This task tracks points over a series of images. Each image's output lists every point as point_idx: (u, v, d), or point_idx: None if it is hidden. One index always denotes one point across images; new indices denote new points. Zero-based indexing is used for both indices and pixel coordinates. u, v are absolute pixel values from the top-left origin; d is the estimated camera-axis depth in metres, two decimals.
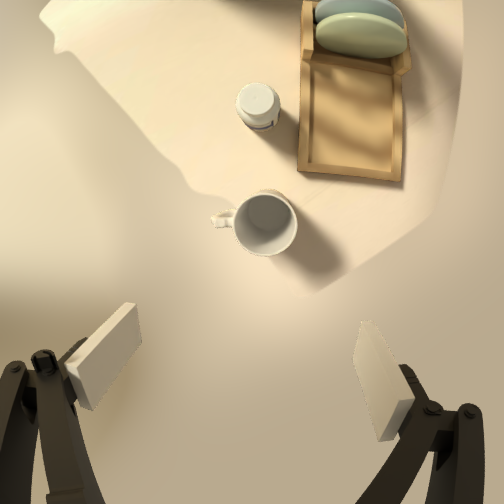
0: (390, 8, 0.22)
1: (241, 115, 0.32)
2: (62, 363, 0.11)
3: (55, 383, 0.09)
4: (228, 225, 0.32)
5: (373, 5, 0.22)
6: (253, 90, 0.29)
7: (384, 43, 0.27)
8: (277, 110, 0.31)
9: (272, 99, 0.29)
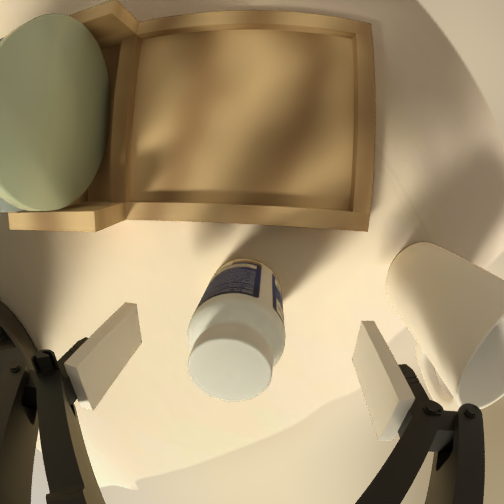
0: None
1: None
2: (62, 363, 0.11)
3: (55, 383, 0.09)
4: None
5: None
6: (208, 377, 0.13)
7: (58, 59, 0.10)
8: (252, 306, 0.14)
9: (230, 342, 0.12)
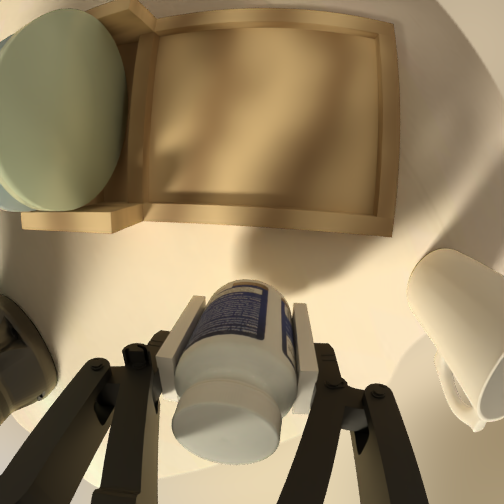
0: None
1: None
2: None
3: (143, 379, 0.10)
4: None
5: None
6: (198, 441, 0.09)
7: (72, 55, 0.10)
8: (255, 353, 0.11)
9: (225, 408, 0.08)
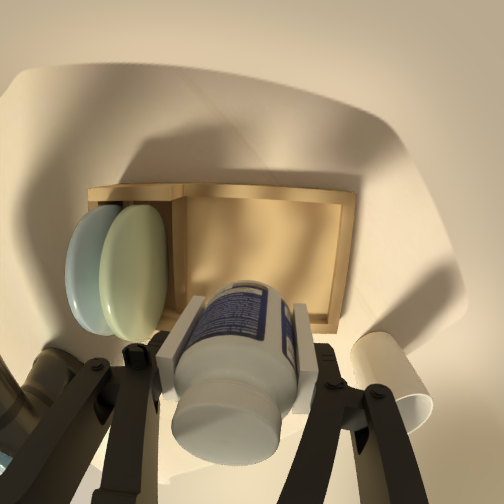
0: (77, 262, 0.19)
1: None
2: None
3: (143, 379, 0.10)
4: None
5: (83, 287, 0.20)
6: (198, 442, 0.09)
7: (140, 245, 0.23)
8: (255, 354, 0.10)
9: (225, 409, 0.08)
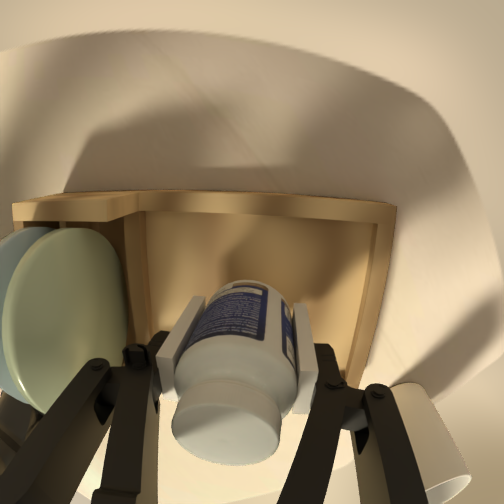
0: None
1: None
2: None
3: (143, 379, 0.10)
4: None
5: None
6: (198, 442, 0.09)
7: (67, 292, 0.13)
8: (255, 354, 0.10)
9: (225, 409, 0.08)
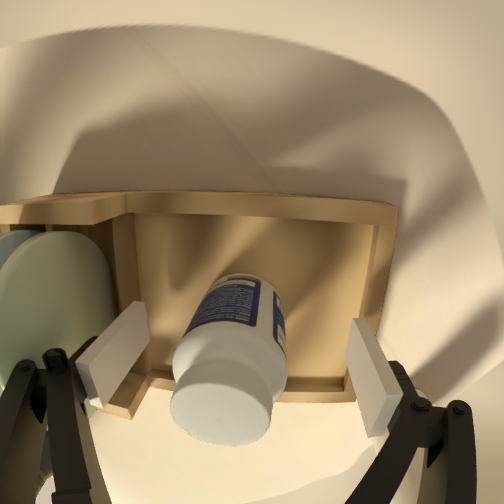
0: None
1: None
2: (72, 361, 0.11)
3: (66, 382, 0.09)
4: None
5: None
6: (195, 421, 0.10)
7: (52, 298, 0.12)
8: (247, 338, 0.12)
9: (219, 387, 0.09)
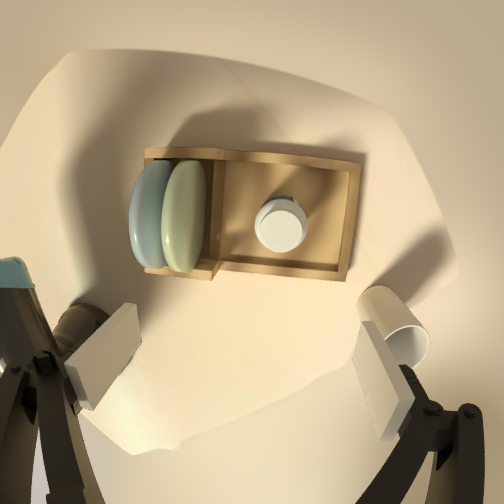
0: (142, 197, 0.25)
1: (295, 246, 0.29)
2: (62, 363, 0.11)
3: (55, 383, 0.09)
4: None
5: (144, 219, 0.26)
6: (270, 234, 0.27)
7: (191, 191, 0.29)
8: (291, 203, 0.28)
9: (283, 212, 0.26)
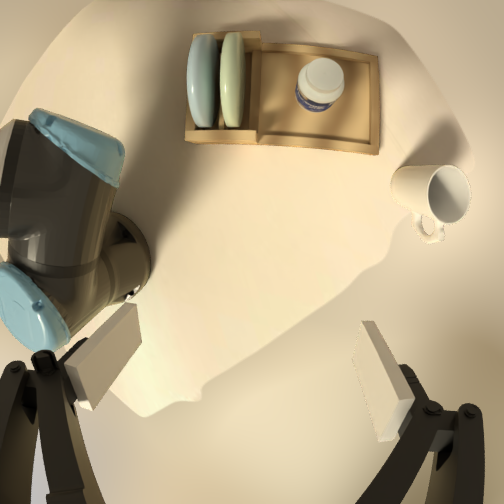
0: (202, 45, 0.24)
1: (336, 95, 0.28)
2: (62, 363, 0.11)
3: (55, 383, 0.09)
4: (442, 228, 0.29)
5: (201, 63, 0.25)
6: (316, 75, 0.26)
7: (240, 55, 0.28)
8: None
9: (326, 59, 0.25)
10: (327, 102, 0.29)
